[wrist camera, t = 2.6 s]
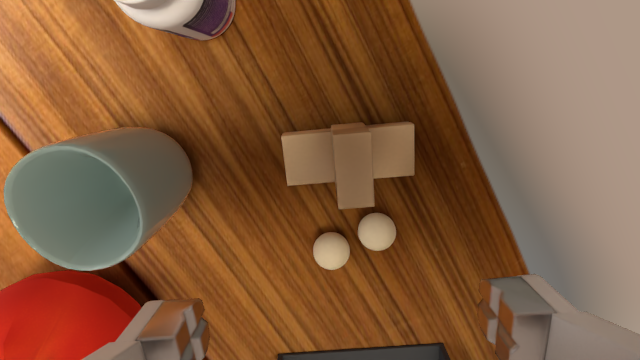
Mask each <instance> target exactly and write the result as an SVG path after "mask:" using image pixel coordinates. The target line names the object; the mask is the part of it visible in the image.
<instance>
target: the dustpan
mask: <svg viewBox="0 0 640 360" xmlns="http://www.w3.org/2000/svg"><path fill="white" fill-rule="evenodd" d="M277 360H450V358H449V355H448V353H447V351H446V349H445V347H444V344H443V343H437V344H422V345H407V346H392V347H377V348H362V349H347V350H332V351H317V352H302V353H287V354H278V359H277Z"/></svg>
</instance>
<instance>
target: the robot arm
mask: <svg viewBox="0 0 640 360" xmlns="http://www.w3.org/2000/svg"><path fill="white" fill-rule="evenodd" d="M479 293H480V294H481V296H482V297H483V299H482V300H481V301H480V302H479V304H478V310H477V315H478V320H479V325H480V328H481V330H482V332H483V334H484V336H485V337H486V339H487V340H488V341H490V342H491V343H493V344H495V345H496V347H495V354H496V355H497V357H498V358H499V360H640V335H639V334H637V333H635V332H632V331H630V330H628V329H626V328H623V327H621V326H619V325H616V324H614V323H612V322H609V321H607V320H604V319H602V318H599V317H597V316H595V315H592V314H590V313H588V312H579V311H578V310H577V309H576V308H575V307H574V306H573V305H571V304H570V303H569V302H568V301H567V300H566V299H565V298H564V297H563V296H562V295H561V294H559V293H558V292H557V291H556V290H555V289H554V288H553V287H552V286H550V284H548V283H547V282H546V281H545V280H544V279H543V278H542V277H541V276H539V275H536V274H531V275H520V276H516V277H503V278H490V279H481V281H480V283H479ZM204 310H205V309H204V306H203V302H202V300H201V299H199V298H194V299H172V300H156V301H149V302H147V303H145V304H144V306H143V307H142V308H141V309H140V311H139V312H138V313H137V314H136V316H135V317H134V318H133V320H132V321H131V322H130V323H129V325H128V326H127V327H126V328H125V330H124V331H123V332H122V334H121V335H120V336H119V337H118V339H117V340H116V341H115V342H110V343H108V344H106V345H104V346H103V347H101V348H99V349H98V350H96V351H95V352H93V353H91V354H90V355H88V356H87V357H85V358H83V359H82V360H202V359H203V358H204V357H205V354H206V352H207V349H208V344H209V338H210V336H209V326H208V322H207V321H205V320H204V319H203V318H202V315H203V313H204Z"/></svg>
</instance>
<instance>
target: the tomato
mask: <svg viewBox="0 0 640 360" xmlns="http://www.w3.org/2000/svg"><path fill="white" fill-rule="evenodd" d="M141 308H142V307H141V306H140V304H139V303H138V302H137V301H136V300H135V299H133V298H132V297H131V296H130V295H129V294H128V293H126V292H125V291H124V290H123V289H122V288H121V287H119V286H117V285H115V284H113V283H111V282H109V281H107V280H105V279H103V278H101V277H99V276H97V275H94V274H89V273H83V272H78V271H73V270H65V271H55V272H48V273H41V274H34V275H31V276H29V277H27V278H25V279H23V280H21V281H19V282H17V283H15V284H13V285H11V286H8V287H6V288H4V289H2V290H1V291H0V360H82V359H83V358H85V357H87V356H88V355H90V354H91V353H93V352H95V351H96V350H98V349H99V348H101V347H103V346H104V345H106V344H108V343H110V342H115V341H116V340H117V339H118V337H119V336H120V335H121V334H122V332H123V331H124V330H125V328H126V327H127V326H128V325H129V323H130V322H131V321H132V320H133V318H134V317H135V316H136V314H137V313H138V312H139V311H140V309H141Z"/></svg>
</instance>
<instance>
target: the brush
mask: <svg viewBox="0 0 640 360" xmlns="http://www.w3.org/2000/svg"><path fill="white" fill-rule="evenodd" d="M281 140H282V148H283V156H284V163H285V171H286V179H287V186H292V185H304V184H316V183H328V182H335V185H336V194H337V202H338V209H350V208H363V207H374V182H373V179H376V178H388V177H400V176H412V175H414V124H413V123H411V122H409V121H408V122H396V123H385V124H374V125H365V124H364V123H363V122H359V123H348V124H336V125H331V128H329V129H318V130H307V131H295V132H284V133H283V134H282V136H281Z"/></svg>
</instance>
